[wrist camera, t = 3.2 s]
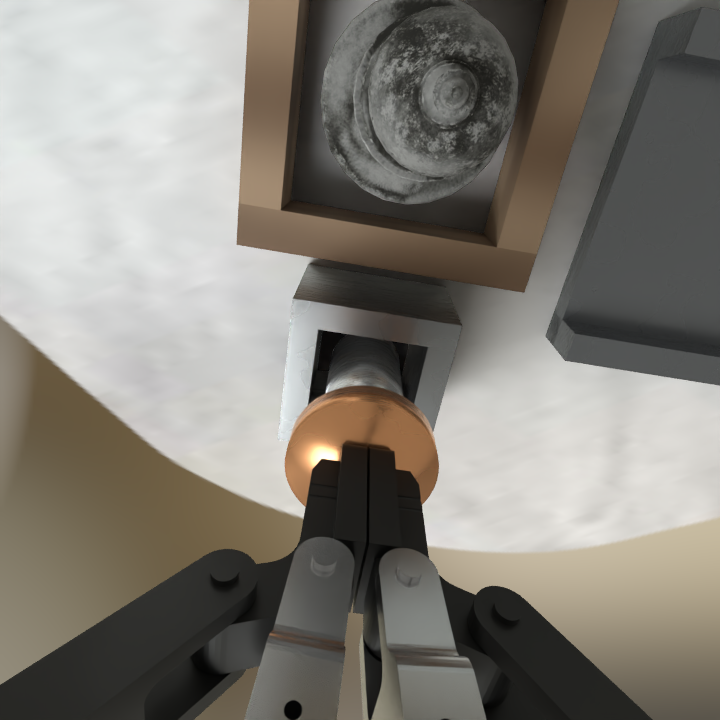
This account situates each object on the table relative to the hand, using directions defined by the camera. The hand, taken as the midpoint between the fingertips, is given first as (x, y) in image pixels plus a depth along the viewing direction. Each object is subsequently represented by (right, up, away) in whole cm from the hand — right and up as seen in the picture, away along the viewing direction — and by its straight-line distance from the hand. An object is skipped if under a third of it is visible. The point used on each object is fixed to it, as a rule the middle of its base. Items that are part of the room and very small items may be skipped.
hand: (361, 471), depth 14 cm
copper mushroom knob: (0, +3, +6) cm, 7 cm away
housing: (0, +4, +8) cm, 9 cm away
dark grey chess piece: (+2, +13, +5) cm, 14 cm away
